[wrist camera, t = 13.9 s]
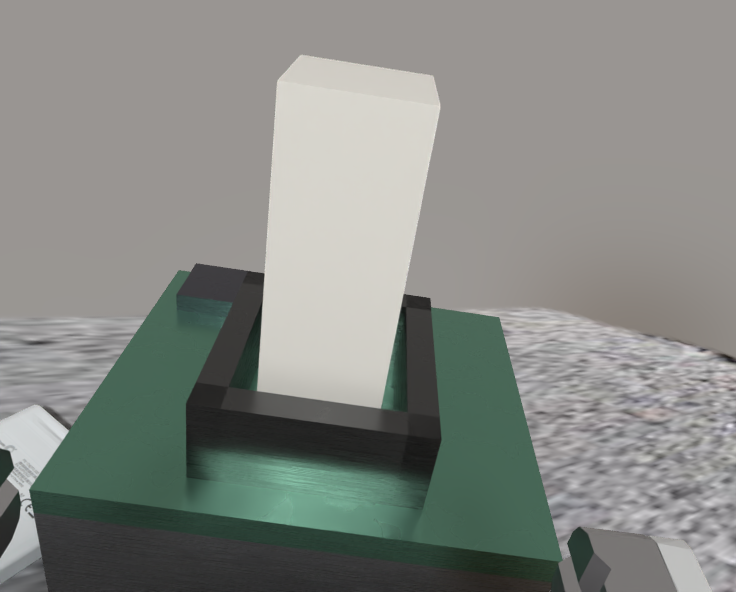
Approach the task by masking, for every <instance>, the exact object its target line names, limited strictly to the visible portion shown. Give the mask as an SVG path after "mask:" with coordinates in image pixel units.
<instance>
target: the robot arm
mask: <svg viewBox="0 0 736 592" xmlns="http://www.w3.org/2000/svg"><path fill="white" fill-rule="evenodd" d="M13 469H14V465H13V461H12V457H11V453H10V451H8V450H5V449H1V448H0V558H1V556H2V555H3V553H4V552H5V550H6V548H7V547H8V545H9V544H10V542H11V540H12V538H13V535H14V533H15V530H16V527H17V524H18V522H19V519H20V509H21V500H20V495H19V490H18V489H17V488H16V487H15V486H14V485H13V484H12V483H11V482H10V481H8V480H7V478H8V476H9V475H10V473H11V472H12V471H13ZM567 544H568V547H569V551H570V555H571V556H570V557H568V558H566V559H565V560H563V561H561V562H559V563H558V565H557V567H556V570H555V572H554V575H553V577H552V583H551V592H712V590H711V588H710V585H709V583H708V581H707V579H706V577H705V575H704V573H703V571H702V569H701V567H700V565H699V563H698V561H697V559H696V557H695V555H694V553H693V551H692V549H691V547H690V546H689V545H688V544H687V543H686V542H685V541H684V540H678V539H670V538H663V537H655V536H645V535H643V534H635V533H627V532H619V531H611V530H603V529H595V528H587V527H578V528H577V529H576V530H575V531H573V533H572V535H571V537H570V539H569V541H568V543H567Z"/></svg>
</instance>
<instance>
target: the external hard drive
mask: <svg viewBox="0 0 736 592" xmlns="http://www.w3.org/2000/svg"><path fill="white" fill-rule="evenodd" d="M68 432H69V430H68V429H66V428H65V427H64V426H63V425H62V424H61V423H59V422H58V421H57V420H56V419H55V418H54V417H53V416H51V415H50V414H49V413H48V412H47V411H45V410H44V409H43V408H42V407H41V406H39V405H36V404H35V405H33V406H31V407H29V408H26V409H24V410H22V411H20V412H18V413H16V414H14V415H12V416H10V417H7V418H5V419H3V420H1V421H0V448H1V449H5V450H8V451H10V453H11V457H12V461H13V465H14V469H13V471H12V472H11V473H10V475H9V476H8V478H7V480H8V481H10V482H11V483H12V484H13V485H14V486H15V487H16V488H17V489H18V490H19V495H20V500H21V509H20V519H19V522H18V524H17V527H16V530H15V533H14V535H13V538H12V540H11V542H10V544H9V545H8V547H7V548H6V550H5V552H4V553H3V555H2V556H1V558H0V584H2V583H3V582H5V581H6V580H8V579H9V578H11V577H12V576H14V575H15V574H17V573H18V572H20V571H21V570H23V569H24V568H26V567H28V566H29V565H31V564H32V563H34V562H35V561H37V560H38V559H40V558H41V557H42V555H41V550H40V545H39V539H38V534H37V529H36V524H35V519H34V513H33V508H32V503H31V498H30V492H29V489H30V487H31V486H32V484H33V483H34V482H35V480H36V479H37V477H38V476H39V474H40V473H41V471H42V470H43V468H44V467H45V465H46V464H47V463H48V461H49V460H50V458H51V457H52V455H53V454H54V452H55V451H56V449H57V448H58V446H59V445H60V443H61V442H62V441H63V439H64V438H65V436H66V435H67V433H68Z"/></svg>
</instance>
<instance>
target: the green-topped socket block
mask: <svg viewBox="0 0 736 592" xmlns="http://www.w3.org/2000/svg"><path fill="white" fill-rule="evenodd" d="M264 277H265V274H264V273H258V272H251V271H244V270H237V269H231V268H223V267H217V266H210V265H203V264H196V265H195V266H194V268H193V269H192V271H191V272H187V271H181V270H180V271H178V272H177V274H176V275H175V277H174V278H173V280H172V281H171V283H170V284H169V285H168V287H167V288H166V290H165V291H164V293H163V294H162V296H161V297H160V299H159V300H158V302H157V303H156V305H155V306H154V307H153V309H152V310H151V312H150V313H149V315H148V316H147V318H146V319H145V321H144V322H143V324H142V325H141V326H140V328H139V329H138V331H137V332H136V334H135V335H134V337H133V338H132V340H131V341H130V343H129V344H128V345H127V347H126V348H125V350H124V351H123V353H122V354H121V356H120V357H119V359H118V360H117V362H116V363H115V364H114V366H113V367H112V369H111V370H110V372H109V373H108V375H107V376H106V378H105V379H104V381H103V382H102V384H101V385H100V386H99V388H98V389H97V391H96V392H95V394H94V395H93V397H92V398H91V400H90V401H89V403H88V404H87V405H86V407H85V408H84V410H83V411H82V413H81V414H80V416H79V417H78V419H77V420H76V422H75V423H74V424H73V426H72V427H71V429H70V430H69V432H68V433H67V435H66V436H65V438H64V439H63V441H62V442H61V443H60V445H59V446H58V448H57V449H56V451H55V452H54V454H53V455H52V457H51V458H50V460H49V461H48V463H47V464H46V465H45V467H44V468H43V470H42V471H41V473H40V474H39V476H38V477H37V479H36V480H35V482H34V483H33V484H32V486H31V487H30V489H29V492H30V498H31V503H32V508H33V513H34V519H35V524H36V529H37V534H38V539H39V545H40V550H41V555H42V560H43V566H44V571H45V576H46V581H47V587H48V592H549V591H550V589H551V583H552V577H553V575H554V572H555V570H556V567H557V565H558V563H559V562H561V561H563V560H562V556H561V552H560V548H559V544H558V541H557V537H556V533H555V529H554V525H553V521H552V518H551V514H550V510H549V506H548V502H547V498H546V495H545V491H544V487H543V483H542V479H541V476H540V472H539V468H538V464H537V460H536V456H535V453H534V449H533V445H532V441H531V437H530V433H529V430H528V426H527V422H526V418H525V414H524V410H523V407H522V403H521V399H520V395H519V391H518V387H517V384H516V380H515V376H514V372H513V368H512V365H511V361H510V357H509V353H508V349H507V345H506V342H505V338H504V334H503V330H502V326H501V322H500V319H499V317H493V316H486V315H480V314H473V313H466V312H459V311H452V310H446V309H439V308H432V307H431V302H430V298H426V297H419V296H412V295H406V294H403V299H402V304H401V310H400V315H399V320H398V325H397V330H396V335H395V340H394V345H393V350H392V355H391V360H390V365H389V370H388V375H387V380H386V385H385V390H384V395H383V401H382V406H381V409H380V408H373V407H366V406H359V405H352V404H345V403H337V402H330V401H323V400H316V399H309V398H302V397H295V396H288V395H281V394H274V393H267V392H260V391H257V384H258V368H259V353H260V338H261V323H262V307H263V292H264Z"/></svg>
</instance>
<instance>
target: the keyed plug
mask: <svg viewBox="0 0 736 592" xmlns="http://www.w3.org/2000/svg"><path fill="white" fill-rule="evenodd" d="M440 107H441V105H440V101H439V97H438V93H437V89H436V85H435V81H434V76H432V75H425V74H419V73H413V72H407V71H400V70H393V69H388V68H382V67H375V66H368V65H363V64H356V63H350V62H344V61H337V60H331V59H325V58H318V57H312V56H305V55H300V56H299V57H298V58H297V60H296V61H295V62H294V63H293V64H292V65H291V66H290V67H289V68H288V69H287V71H286V72H285V73H284V74H283V75H282V76H281V77H280V78H279V79H278V81H277V93H276V109H275V124H274V140H273V154H272V171H271V186H270V201H269V217H268V232H267V246H266V262H265V277H264V292H263V307H262V323H261V338H260V353H259V368H258V384H257V391H260V392H267V393H274V394H281V395H288V396H295V397H302V398H309V399H316V400H323V401H330V402H337V403H345V404H352V405H359V406H366V407H373V408H380V409H381V406H382V401H383V395H384V390H385V385H386V380H387V375H388V370H389V365H390V360H391V355H392V350H393V345H394V340H395V335H396V330H397V325H398V320H399V315H400V310H401V304H402V299H403V294H404V289H405V284H406V279H407V274H408V269H409V264H410V258H411V253H412V249H413V244H414V239H415V233H416V229H417V224H418V218H419V213H420V208H421V203H422V198H423V193H424V188H425V183H426V178H427V173H428V168H429V163H430V158H431V153H432V148H433V142H434V137H435V133H436V127H437V122H438V117H439V112H440Z"/></svg>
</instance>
